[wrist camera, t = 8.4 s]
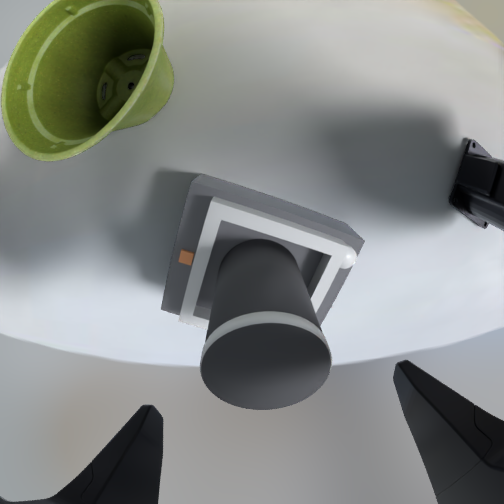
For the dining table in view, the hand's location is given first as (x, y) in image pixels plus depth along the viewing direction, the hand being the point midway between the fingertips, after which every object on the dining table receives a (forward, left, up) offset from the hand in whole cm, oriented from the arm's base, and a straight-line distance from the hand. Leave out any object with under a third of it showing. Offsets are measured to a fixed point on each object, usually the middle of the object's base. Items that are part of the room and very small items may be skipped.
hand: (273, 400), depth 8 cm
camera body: (0, 0, -13) cm, 13 cm away
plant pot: (+12, -9, -13) cm, 20 cm away
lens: (0, 0, -9) cm, 9 cm away
